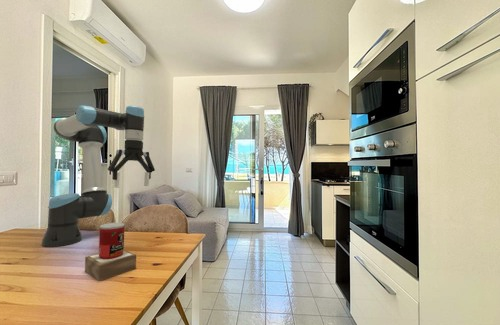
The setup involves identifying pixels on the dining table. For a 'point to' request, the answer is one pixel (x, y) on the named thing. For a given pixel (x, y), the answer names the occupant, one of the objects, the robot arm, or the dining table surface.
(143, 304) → the dining table surface
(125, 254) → the base block
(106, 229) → the canned food
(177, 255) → the dining table surface
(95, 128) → the robot arm
